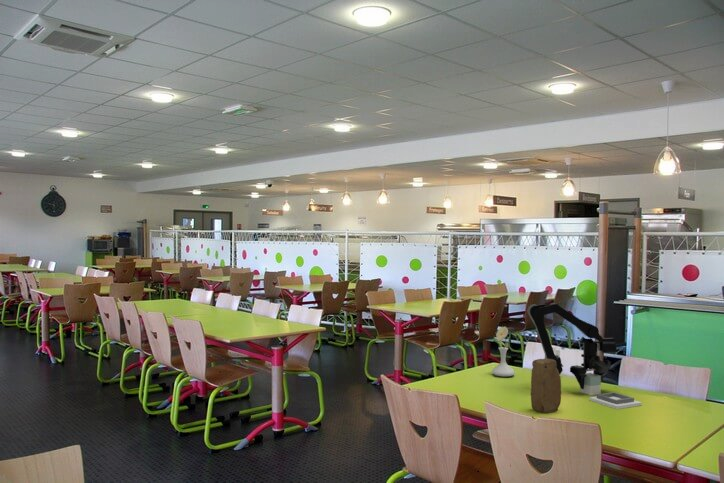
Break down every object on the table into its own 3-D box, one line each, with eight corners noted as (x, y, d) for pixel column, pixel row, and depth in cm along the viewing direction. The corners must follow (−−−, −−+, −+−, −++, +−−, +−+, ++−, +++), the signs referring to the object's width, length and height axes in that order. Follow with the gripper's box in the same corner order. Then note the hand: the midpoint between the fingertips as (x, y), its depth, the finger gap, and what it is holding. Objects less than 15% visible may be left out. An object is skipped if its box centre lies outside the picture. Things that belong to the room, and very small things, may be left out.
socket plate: (616, 409, 220) (616, 402, 220) (589, 400, 233) (589, 393, 233) (641, 405, 226) (641, 398, 226) (613, 396, 239) (613, 390, 239)
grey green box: (590, 395, 241) (590, 376, 241) (580, 391, 247) (580, 373, 247) (600, 393, 244) (600, 375, 244) (590, 390, 249) (590, 372, 249)
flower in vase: (489, 372, 283) (489, 323, 284) (511, 373, 283) (512, 324, 283) (494, 378, 270) (495, 327, 271) (518, 379, 270) (518, 327, 270)
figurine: (551, 373, 282) (551, 344, 282) (564, 377, 273) (564, 347, 274) (539, 374, 280) (540, 345, 280) (552, 379, 271) (552, 348, 271)
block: (541, 414, 213) (541, 362, 213) (528, 409, 220) (528, 358, 220) (563, 411, 217) (563, 360, 217) (550, 406, 224) (550, 356, 224)
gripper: (588, 357, 234) (588, 394, 234) (620, 354, 242) (620, 390, 242) (569, 353, 245) (569, 388, 244) (600, 350, 252) (600, 384, 252)
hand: (590, 388), depth 245 cm, fingers open, 9 cm apart
